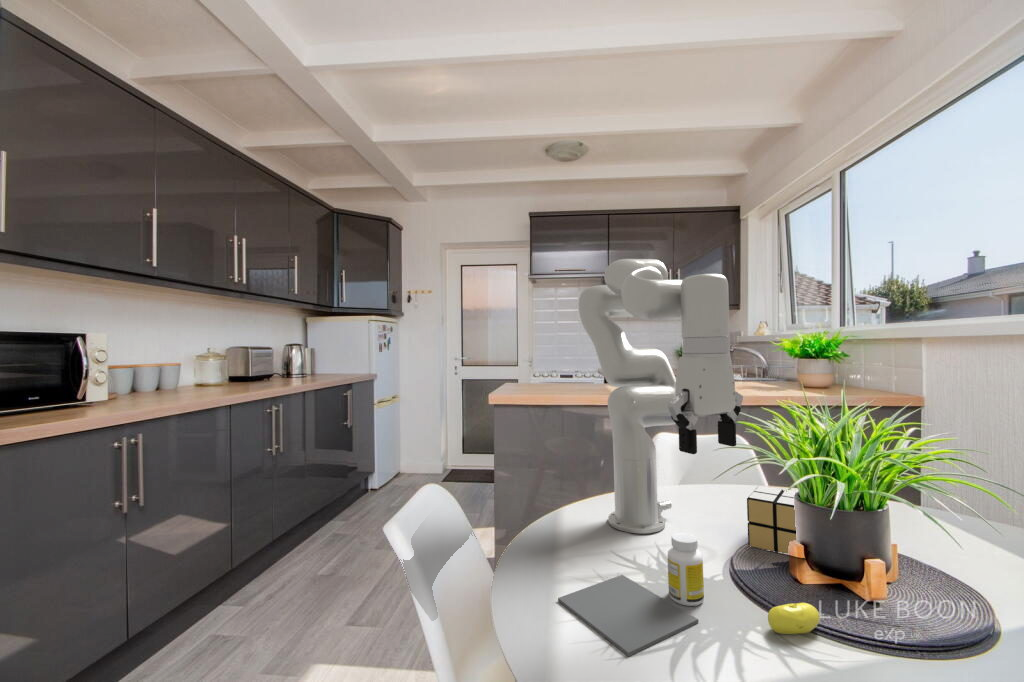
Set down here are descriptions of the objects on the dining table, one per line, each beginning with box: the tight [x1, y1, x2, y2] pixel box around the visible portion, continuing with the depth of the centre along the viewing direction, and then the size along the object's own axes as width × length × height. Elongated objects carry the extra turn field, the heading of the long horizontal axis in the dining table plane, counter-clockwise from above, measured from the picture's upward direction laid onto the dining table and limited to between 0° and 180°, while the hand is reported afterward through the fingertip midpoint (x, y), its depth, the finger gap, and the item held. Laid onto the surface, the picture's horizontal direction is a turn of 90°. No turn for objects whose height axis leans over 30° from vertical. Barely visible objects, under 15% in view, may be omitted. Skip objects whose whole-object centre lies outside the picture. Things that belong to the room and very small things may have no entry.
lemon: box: [767, 602, 821, 635], centre depth 67 cm, size 4×8×4 cm, turn 98°
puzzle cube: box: [746, 485, 797, 553], centre depth 95 cm, size 10×10×10 cm
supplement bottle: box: [667, 532, 705, 607], centre depth 76 cm, size 5×5×10 cm
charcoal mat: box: [557, 574, 699, 657], centre depth 73 cm, size 14×16×1 cm
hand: (708, 448), depth 80 cm, fingers open, 9 cm apart
